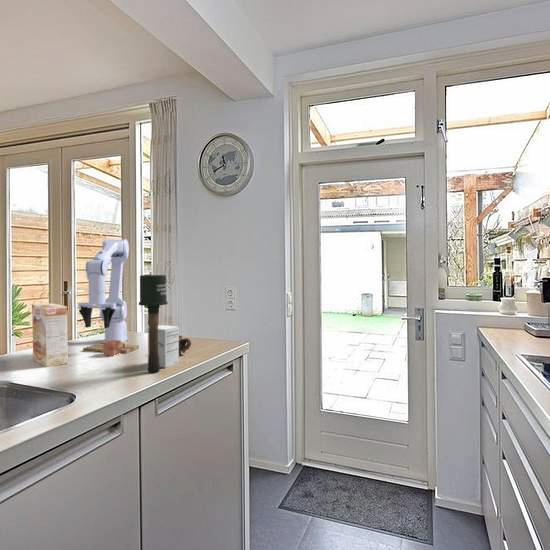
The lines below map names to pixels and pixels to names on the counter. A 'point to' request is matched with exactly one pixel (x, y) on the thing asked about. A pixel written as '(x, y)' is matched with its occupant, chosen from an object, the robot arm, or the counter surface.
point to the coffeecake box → (49, 334)
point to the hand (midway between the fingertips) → (97, 327)
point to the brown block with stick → (112, 347)
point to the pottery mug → (183, 344)
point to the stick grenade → (153, 312)
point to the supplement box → (167, 345)
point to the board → (100, 348)
